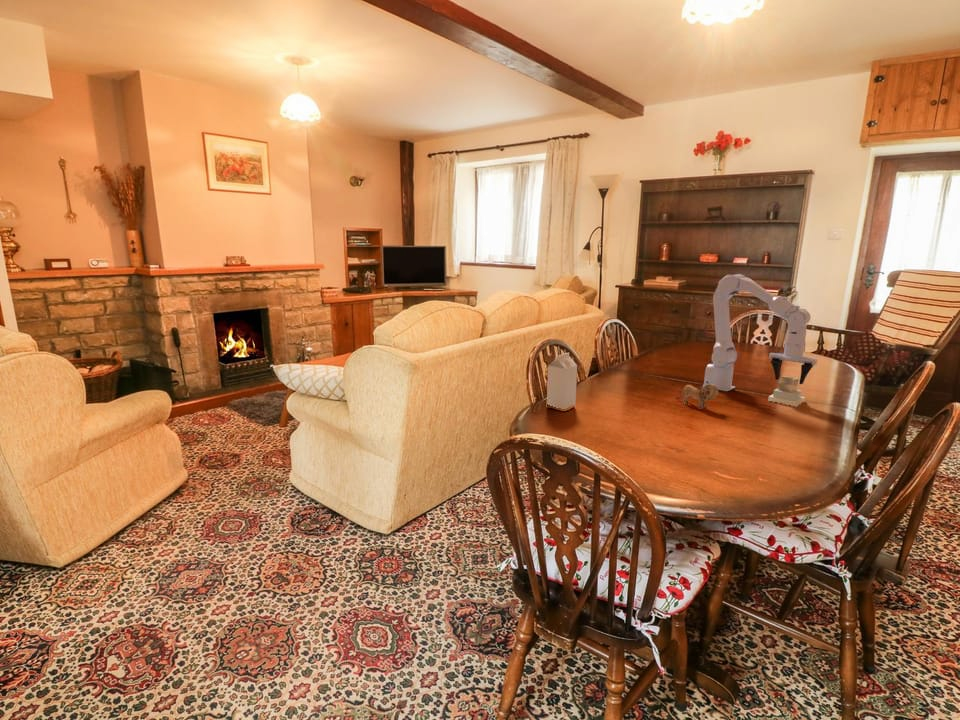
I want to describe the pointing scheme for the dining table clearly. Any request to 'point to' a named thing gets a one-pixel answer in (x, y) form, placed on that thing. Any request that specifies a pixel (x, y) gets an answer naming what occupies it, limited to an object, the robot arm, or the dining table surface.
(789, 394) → the top slab
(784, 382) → the birch block
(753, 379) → the dining table surface
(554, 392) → the milk carton
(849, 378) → the dining table surface
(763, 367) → the dining table surface
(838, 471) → the dining table surface
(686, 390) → the lion figurine
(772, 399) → the bottom slab
